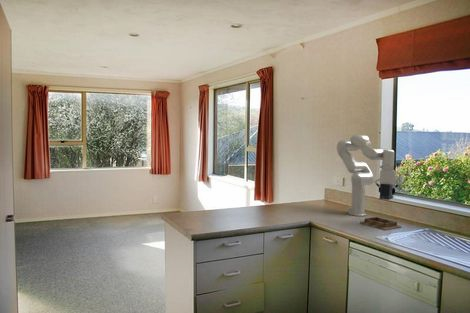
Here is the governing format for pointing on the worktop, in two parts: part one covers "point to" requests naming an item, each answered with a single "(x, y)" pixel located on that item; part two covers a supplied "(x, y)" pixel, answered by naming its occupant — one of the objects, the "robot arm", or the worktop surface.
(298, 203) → the worktop surface
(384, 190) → the small box
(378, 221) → the brown shallow box
